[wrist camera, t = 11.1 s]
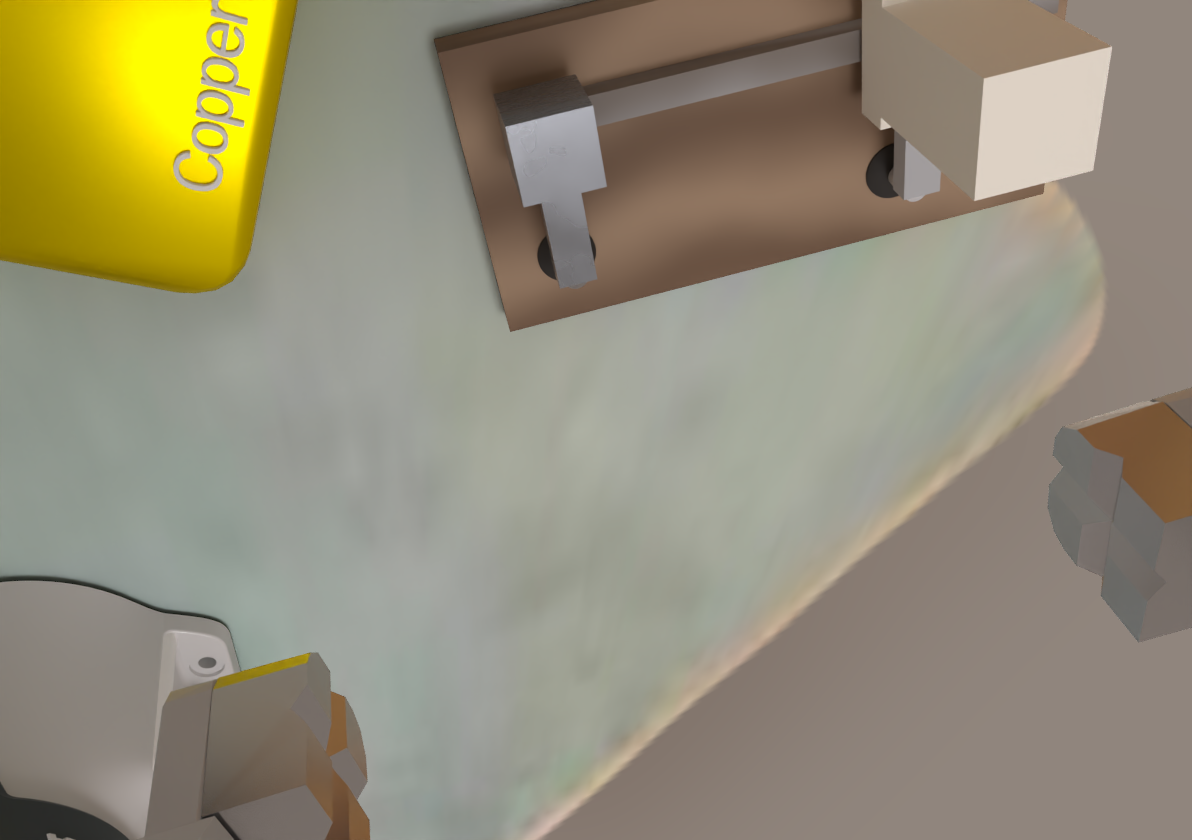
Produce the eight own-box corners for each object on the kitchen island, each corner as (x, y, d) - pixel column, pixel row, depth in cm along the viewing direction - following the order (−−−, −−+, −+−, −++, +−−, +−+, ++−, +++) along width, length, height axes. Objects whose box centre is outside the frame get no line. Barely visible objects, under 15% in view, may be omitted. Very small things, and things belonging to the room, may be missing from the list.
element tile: (245, 252, 42) (239, 314, 38) (-209, 160, 36) (-268, 224, 32) (321, -153, 34) (323, -124, 30) (-243, -349, 28) (-326, -342, 25)
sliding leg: (945, 173, 43) (1074, 288, 36) (853, 197, 43) (965, 318, 36) (958, -53, 38) (1114, 29, 30) (853, -28, 37) (985, 62, 30)
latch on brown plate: (1025, 179, 47) (1055, 203, 45) (505, 313, 45) (514, 344, 43) (1057, -110, 39) (1095, -95, 37) (433, 39, 38) (440, 62, 36)
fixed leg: (606, 260, 42) (626, 304, 40) (535, 278, 42) (550, 324, 40) (572, 69, 37) (592, 105, 35) (491, 89, 37) (505, 126, 34)
